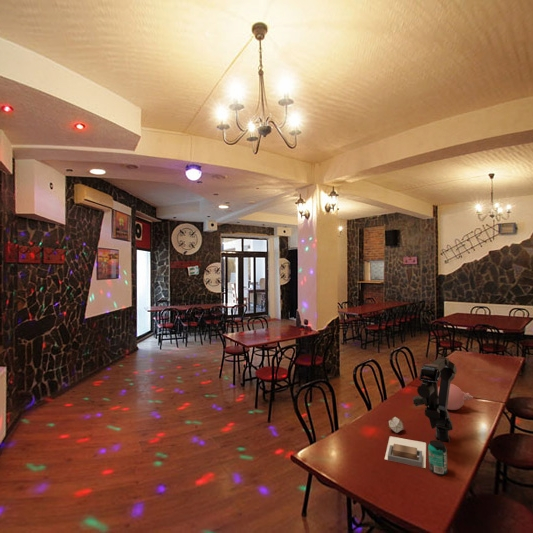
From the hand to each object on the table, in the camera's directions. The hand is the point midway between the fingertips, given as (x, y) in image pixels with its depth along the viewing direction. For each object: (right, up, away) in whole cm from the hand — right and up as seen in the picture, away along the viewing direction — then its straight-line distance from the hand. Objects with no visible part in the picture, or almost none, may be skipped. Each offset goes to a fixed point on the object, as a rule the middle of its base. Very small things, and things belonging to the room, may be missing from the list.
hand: (432, 424), depth 159 cm
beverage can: (-7, -12, -18) cm, 22 cm away
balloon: (+35, -12, +43) cm, 57 cm away
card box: (-17, -12, -7) cm, 22 cm away
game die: (-11, -13, +18) cm, 24 cm away
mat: (-14, -13, -2) cm, 19 cm away
